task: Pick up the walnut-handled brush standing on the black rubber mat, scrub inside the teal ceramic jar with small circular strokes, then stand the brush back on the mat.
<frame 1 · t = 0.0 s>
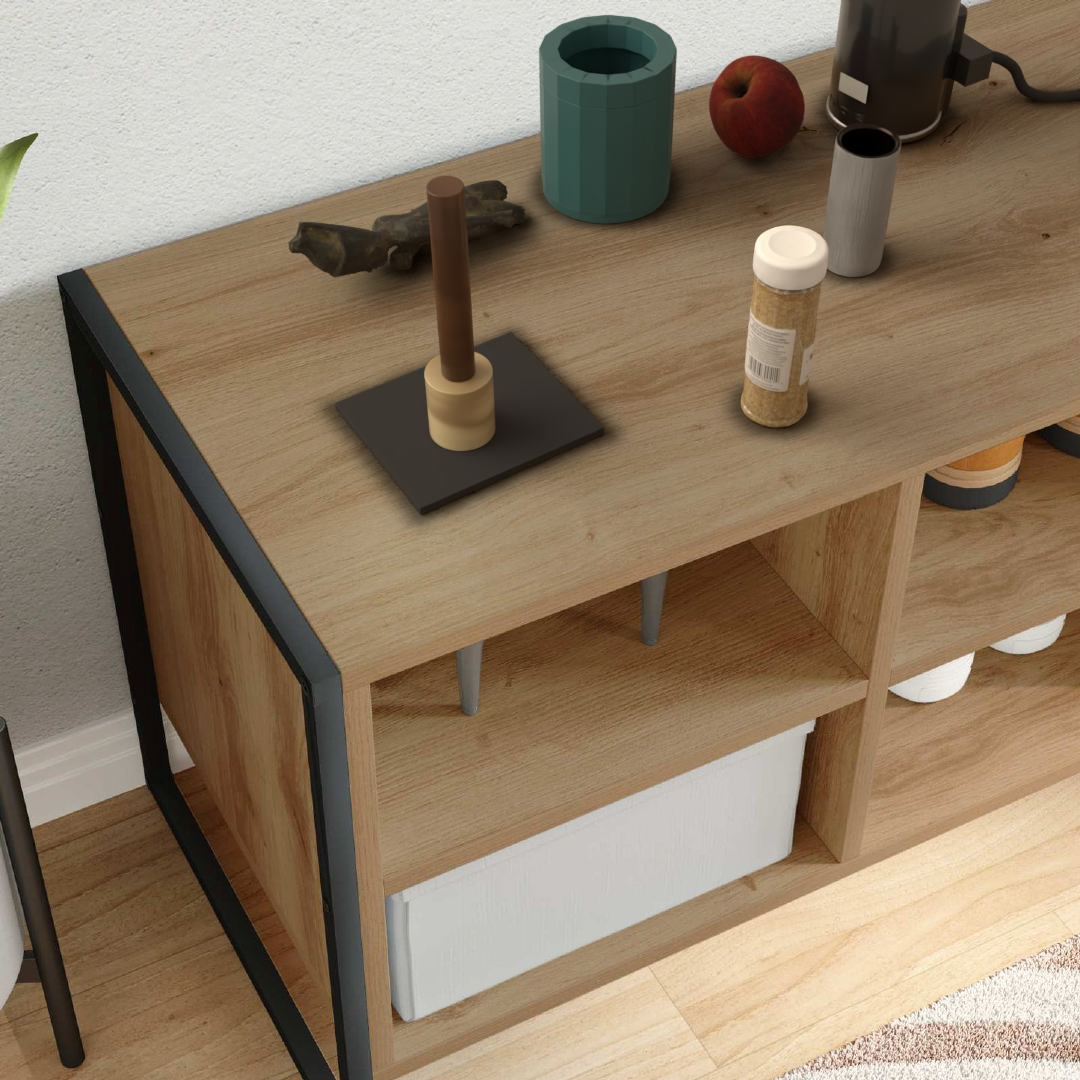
apple: (752, 150, 128), on the sideboard
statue: (413, 263, 119), on the sideboard
mat: (468, 421, 106), on the sideboard
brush: (462, 428, 105), point 1 cm above the sideboard, touching mat
grey hollow cylinder: (849, 261, 118), on the sideboard
jar: (605, 186, 125), on the sideboard
spice bottle: (772, 409, 107), on the sideboard
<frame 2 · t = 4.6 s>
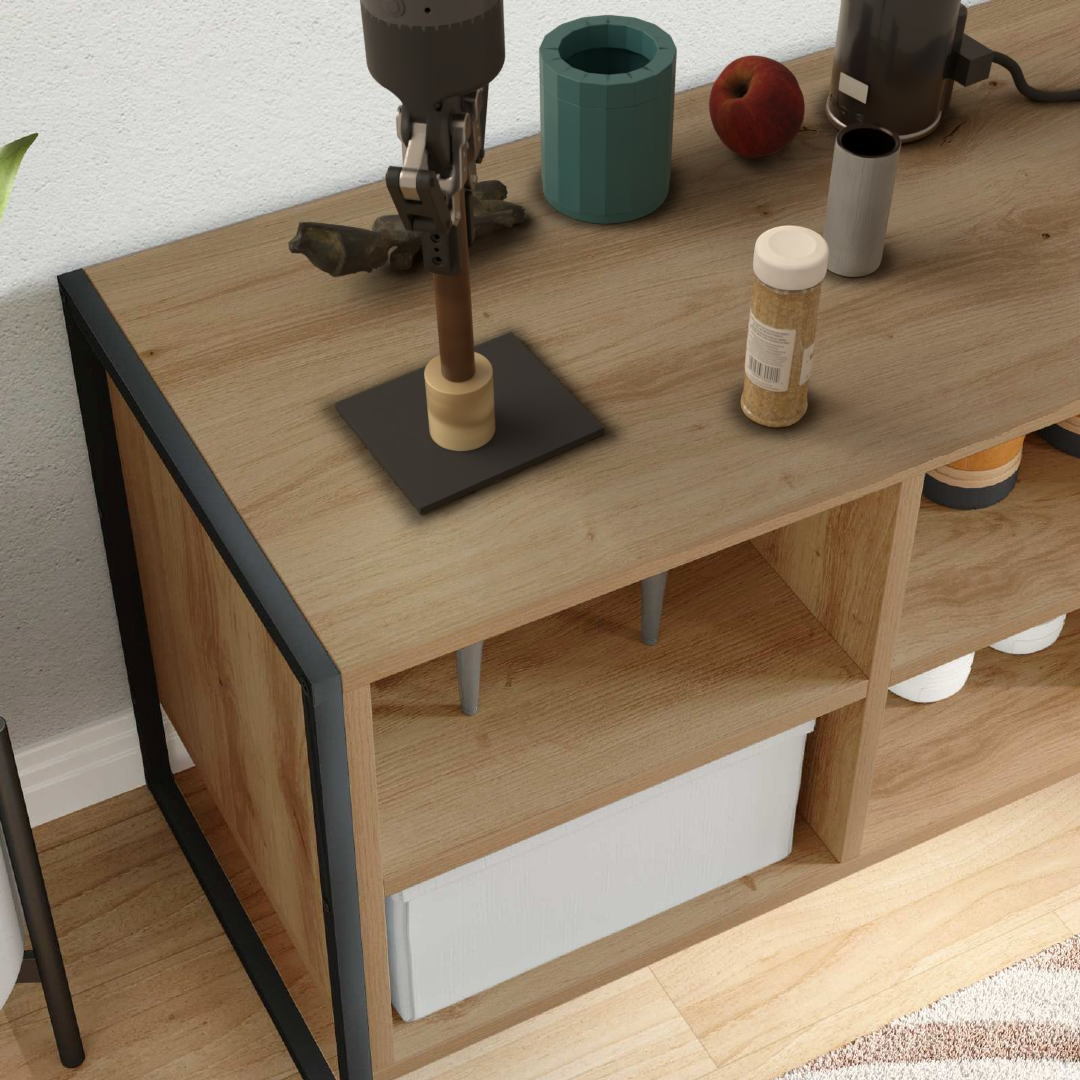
hand: (450, 255, 95), 15 cm above the sideboard, tool pointing down, fingers closed on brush, 2 cm apart
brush: (462, 428, 105), point 1 cm above the sideboard, touching gripper, mat
everything else where it was.
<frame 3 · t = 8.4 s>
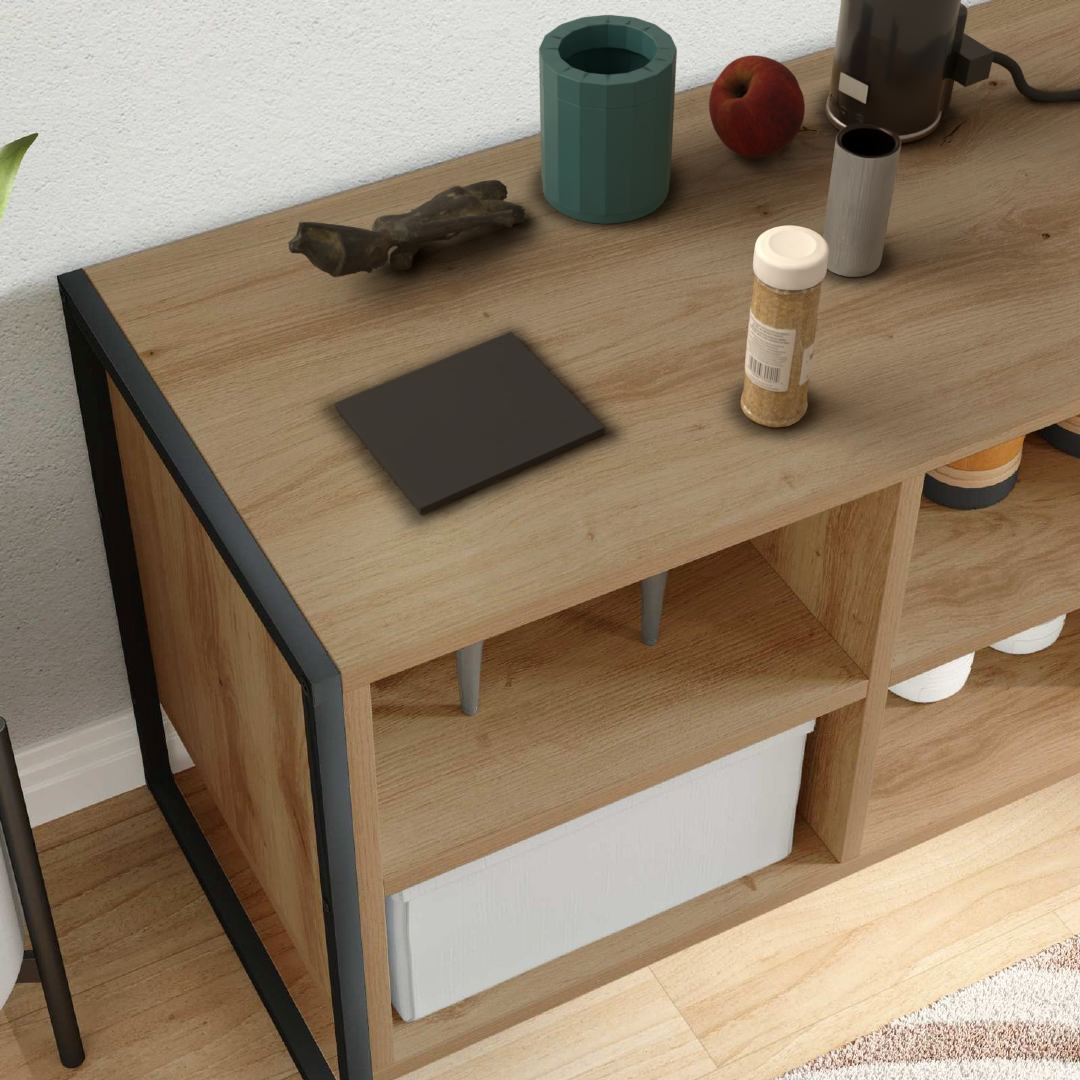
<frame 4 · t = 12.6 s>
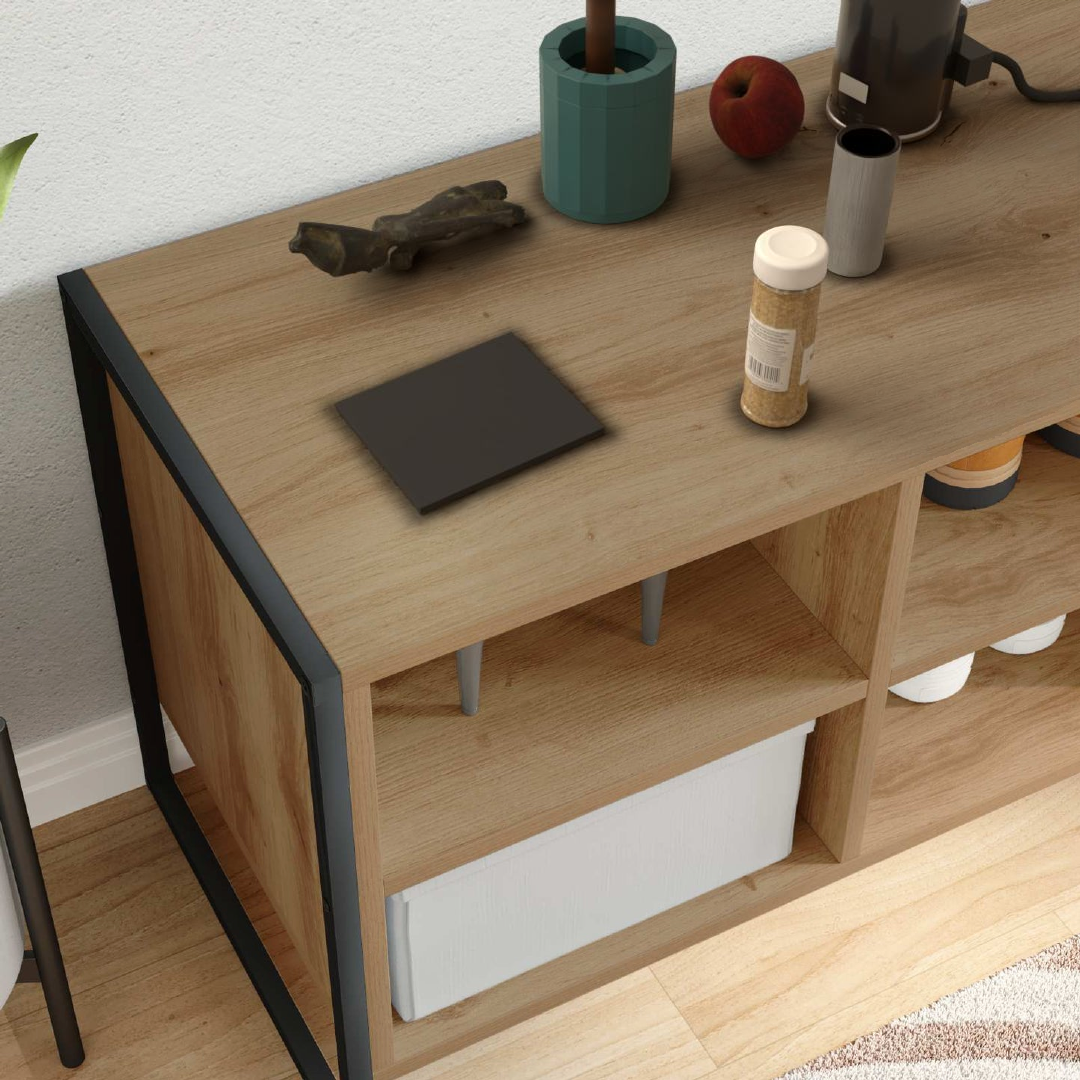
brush: (599, 137, 123), point 4 cm above the sideboard, touching gripper
everything else where it was.
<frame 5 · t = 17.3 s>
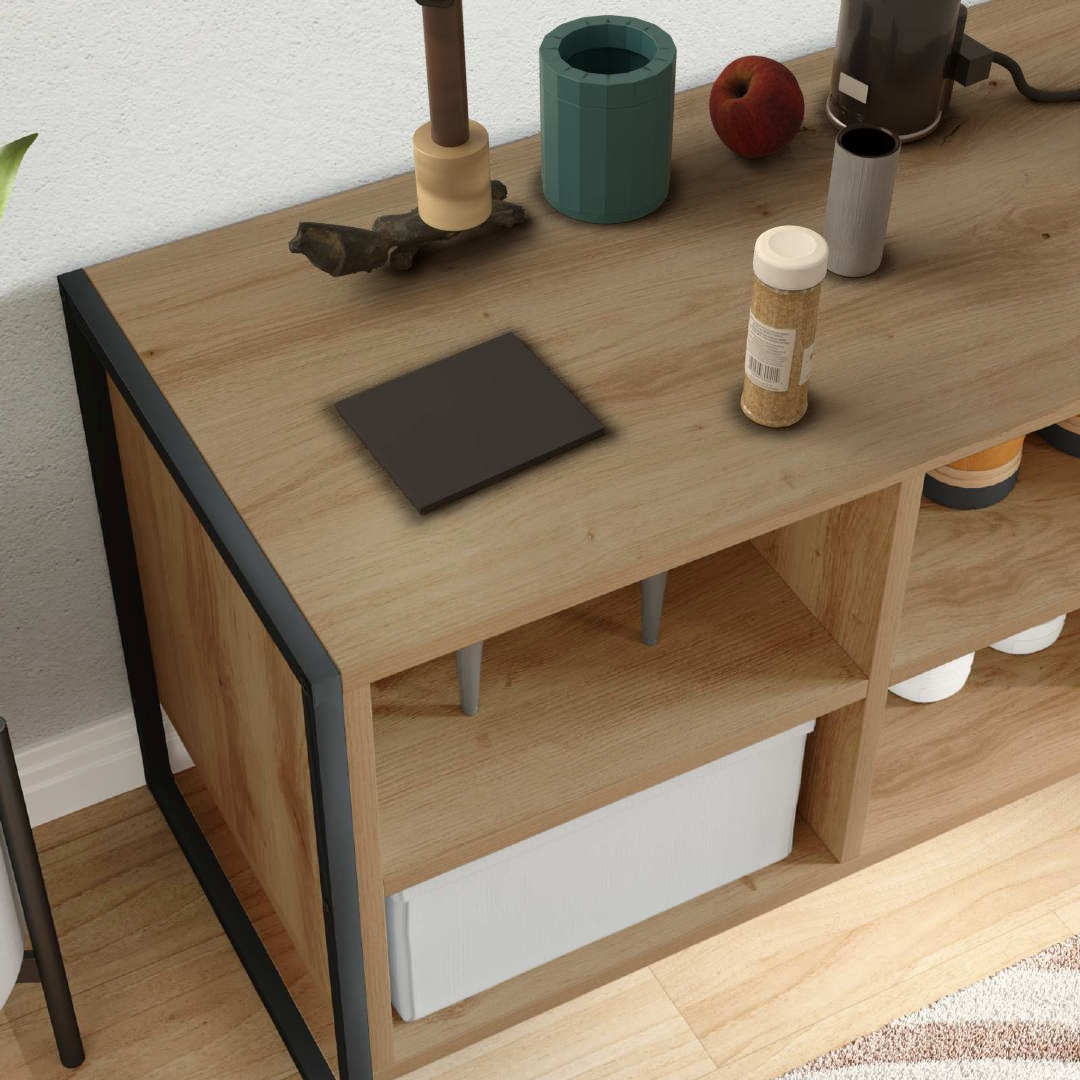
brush: (455, 209, 94), point 17 cm above the sideboard, touching gripper
everything else where it was.
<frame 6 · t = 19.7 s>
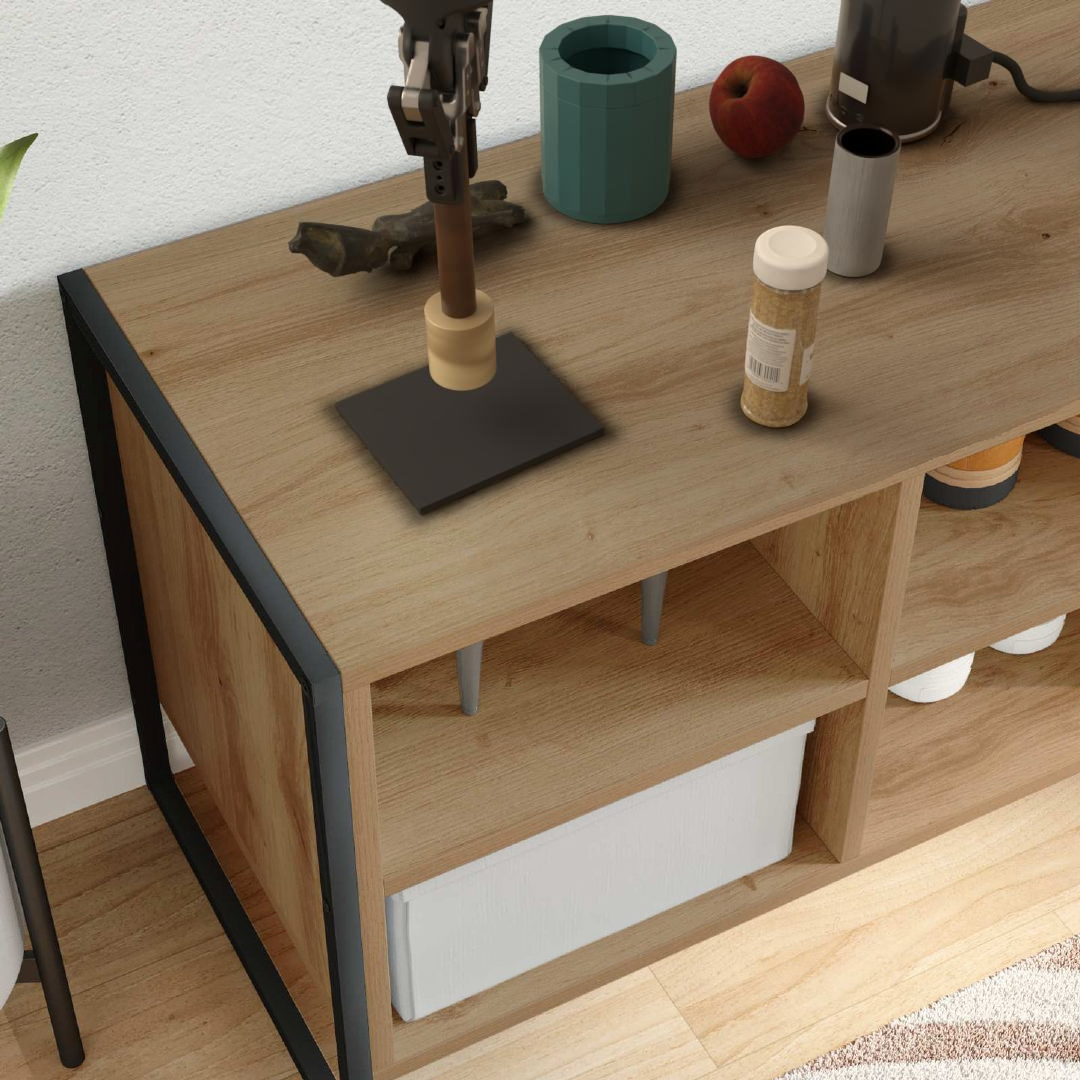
hand: (453, 186, 93), 19 cm above the sideboard, tool pointing down, fingers closed on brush
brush: (463, 368, 103), point 5 cm above the sideboard, touching gripper
everything else where it was.
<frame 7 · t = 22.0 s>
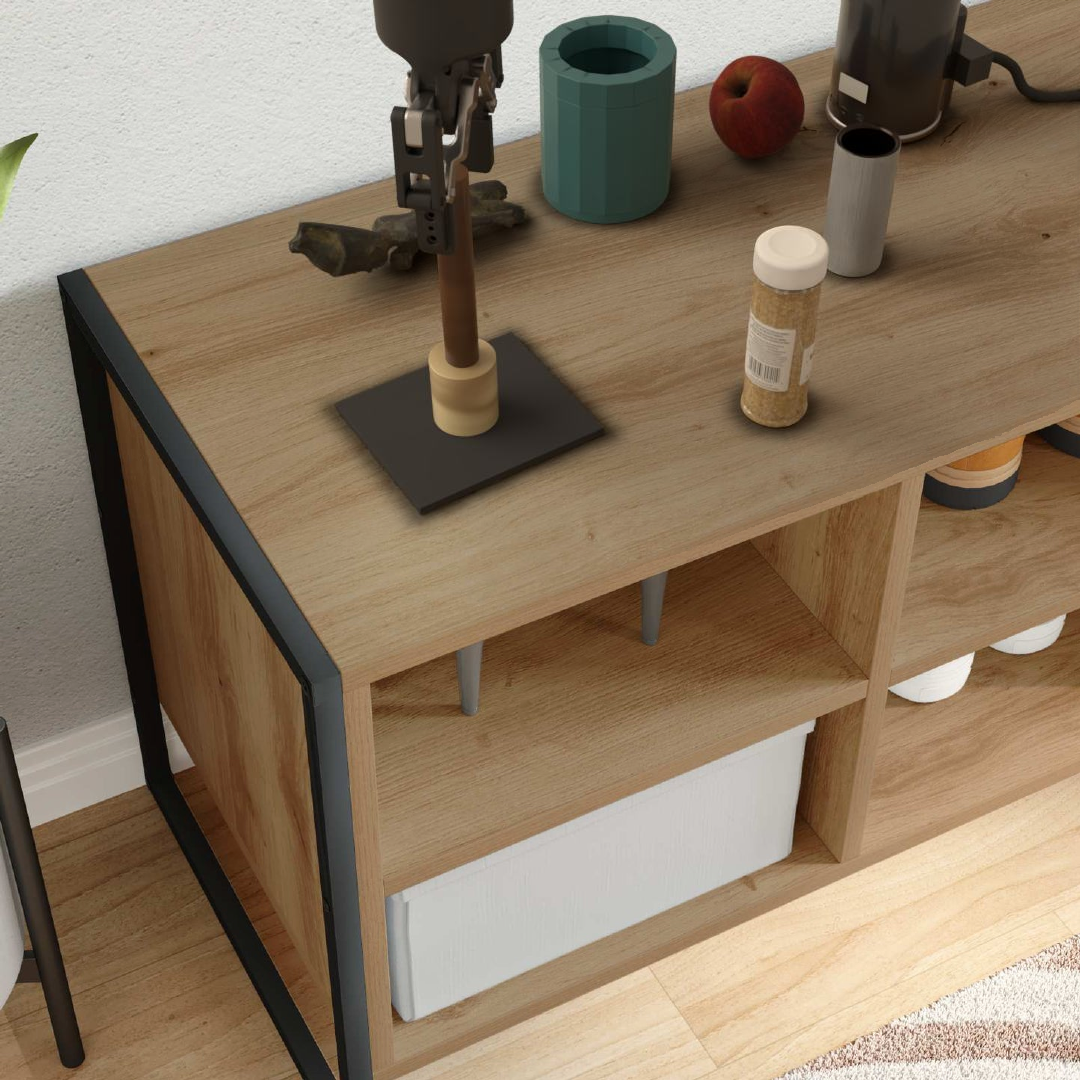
hand: (458, 208, 94), 17 cm above the sideboard, tool pointing down, fingers open, 8 cm apart
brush: (466, 414, 106), point 1 cm above the sideboard, touching mat
everything else where it was.
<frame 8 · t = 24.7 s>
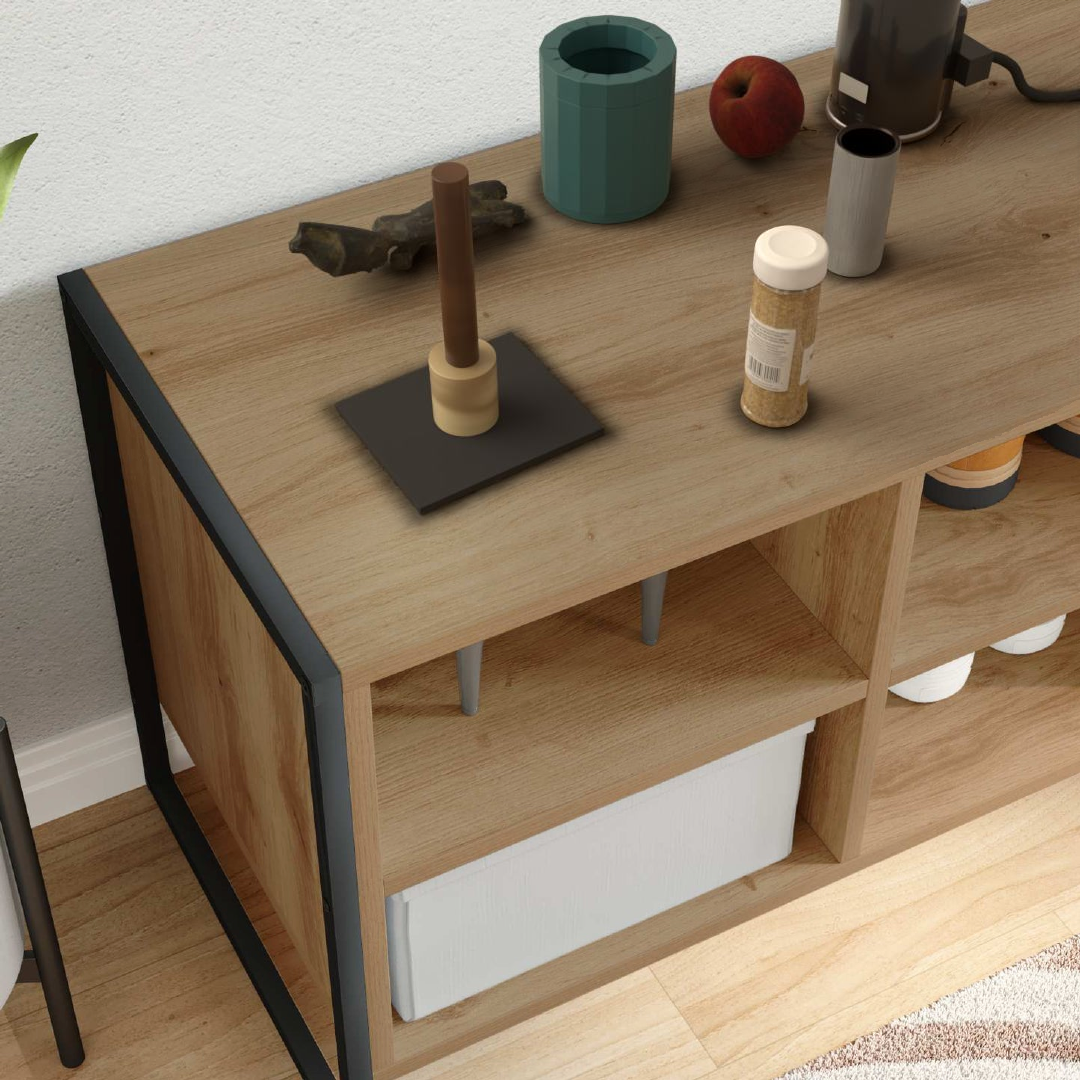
nothing on the sideboard moved.
at the end: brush inside the target area on the mat (0.1 cm from its centre), point 0.6 cm above the mat's base; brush tilted 0°; jar moved 0.0 cm from its start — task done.
